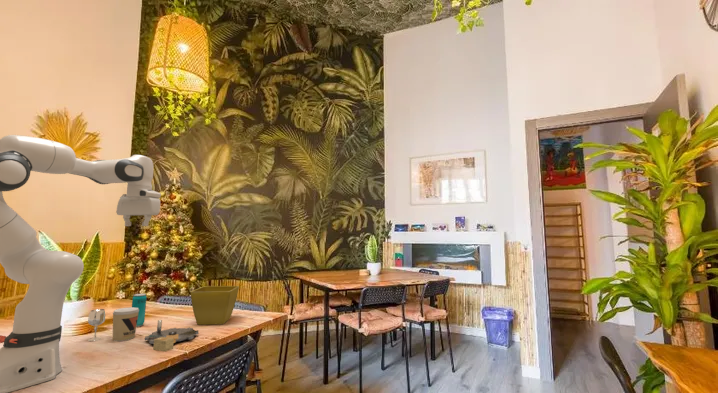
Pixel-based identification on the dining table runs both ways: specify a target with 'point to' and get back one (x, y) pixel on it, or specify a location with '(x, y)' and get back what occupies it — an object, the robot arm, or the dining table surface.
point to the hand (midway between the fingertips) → (136, 226)
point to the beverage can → (140, 307)
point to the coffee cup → (124, 323)
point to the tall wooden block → (163, 344)
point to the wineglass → (96, 320)
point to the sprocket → (172, 333)
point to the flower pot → (213, 304)
